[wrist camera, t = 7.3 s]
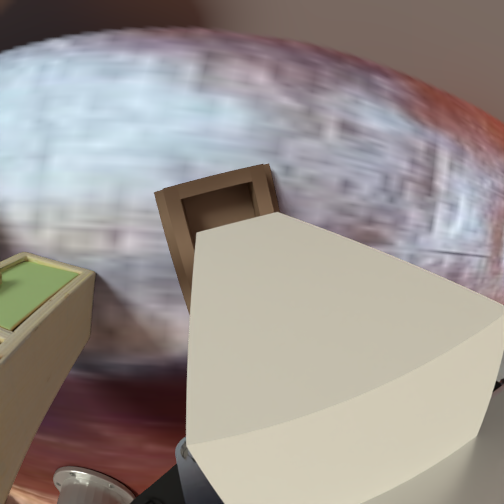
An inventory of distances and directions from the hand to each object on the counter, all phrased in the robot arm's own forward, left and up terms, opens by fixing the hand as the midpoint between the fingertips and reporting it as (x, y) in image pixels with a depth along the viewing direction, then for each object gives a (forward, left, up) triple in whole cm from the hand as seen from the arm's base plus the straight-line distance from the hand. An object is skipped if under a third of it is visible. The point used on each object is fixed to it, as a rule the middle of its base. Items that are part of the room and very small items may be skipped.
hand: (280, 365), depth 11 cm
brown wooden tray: (0, 0, -15) cm, 15 cm away
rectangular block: (0, 0, -3) cm, 3 cm away
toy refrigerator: (+2, +16, -15) cm, 22 cm away
